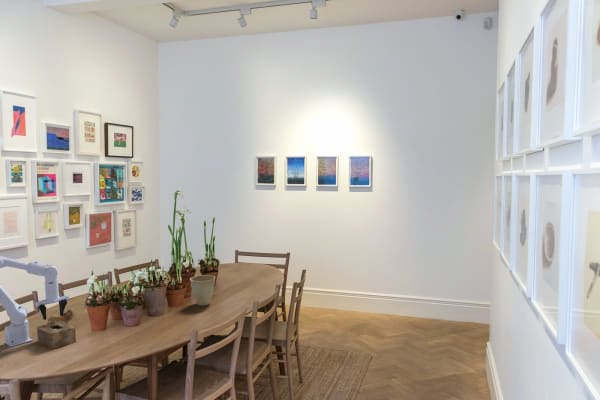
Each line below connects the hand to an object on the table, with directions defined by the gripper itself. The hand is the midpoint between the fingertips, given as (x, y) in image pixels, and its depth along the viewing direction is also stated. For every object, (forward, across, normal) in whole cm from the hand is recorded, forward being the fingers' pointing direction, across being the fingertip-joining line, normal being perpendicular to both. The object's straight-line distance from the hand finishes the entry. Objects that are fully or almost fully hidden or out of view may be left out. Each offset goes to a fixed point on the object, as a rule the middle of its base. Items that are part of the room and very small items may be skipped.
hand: (53, 317), depth 217 cm
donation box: (+10, -2, -8) cm, 13 cm away
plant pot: (+10, +80, -14) cm, 81 cm away
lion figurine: (+10, +8, +12) cm, 17 cm away
